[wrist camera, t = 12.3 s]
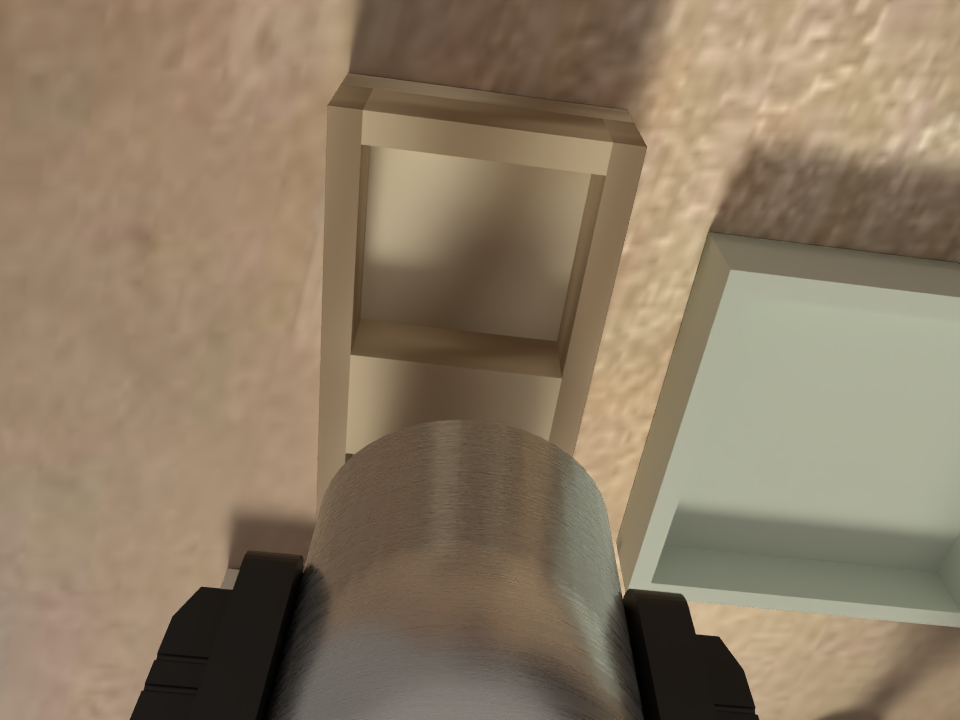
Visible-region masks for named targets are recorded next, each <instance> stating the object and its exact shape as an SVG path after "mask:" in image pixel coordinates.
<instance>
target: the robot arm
mask: <svg viewBox="0 0 960 720" xmlns="http://www.w3.org/2000/svg"><path fill="white" fill-rule="evenodd" d="M302 576H303V557H302V556H301V555H291V554H280V553H270V552H260V551H248V552H247V553H246V554H245V557H244V559H243V561H242V564H241V567H240V570H239V573H238V576H237V579H236V581H235V584H234V587H233V590H230V589H220V588H209V587H201V588H200V589H199V590H198V591H197V592H196V593H195V594H194V595H193V596H192V597H191V598H190V599H189V600H188V601H187V602H186V603H185V604H184V605H183V606H182V607H181V608H180V609H179V610H178V611H177V612H176V613H175V615H174V616H173V617H172V619H171V621H170V624H169V626H168V629H167V631H166V633H165V636H164V638H163V641H162V643H161V646H160V648H159V650H158V653H157V659H156V660H154V662H153V665H152V667H151V670H150V672H149V675H148V677H147V679H146V682H145V687H144V690H143V691H141V694H140V696H139V699H138V701H137V704H136V706H135V708H134V711H133V713H132V716H131V718H130V720H265V719H266V715H267V712H268V708H269V704H270V700H271V696H272V692H273V688H274V684H275V681H276V677H277V673H278V669H279V665H280V661H281V657H282V653H283V650H284V646H285V642H286V638H287V634H288V630H289V626H290V622H291V619H292V615H293V611H294V607H295V603H296V599H297V595H298V591H299V588H300V584H301V580H302ZM623 604H624V610H625V615H626V621H627V626H628V632H629V638H630V643H631V649H632V654H633V660H634V665H635V671H636V677H637V682H638V688H639V693H640V699H641V704H642V710H643V715H644V720H759V718H758V715H756V714H755V705H754V702H753V698H752V695H751V692H750V689H749V686H748V682H747V679H746V676H745V673H744V670H743V669H742V667H741V666H740V665H739V663H738V662H737V660H736V659H735V658H734V656H733V655H732V654H731V652H730V651H729V650H728V648H727V647H726V646H725V644H724V643H723V641H722V640H721V639H720V637H717V636H707V635H696V633H695V630H694V626H693V622H692V618H691V615H690V611H689V607H688V604H687V601H686V599H685V597H684V596H683V595H682V594H680V593H671V592H661V591H651V590H640V589H628V590H627V591H626V593H625V595H624V598H623Z"/></svg>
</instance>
